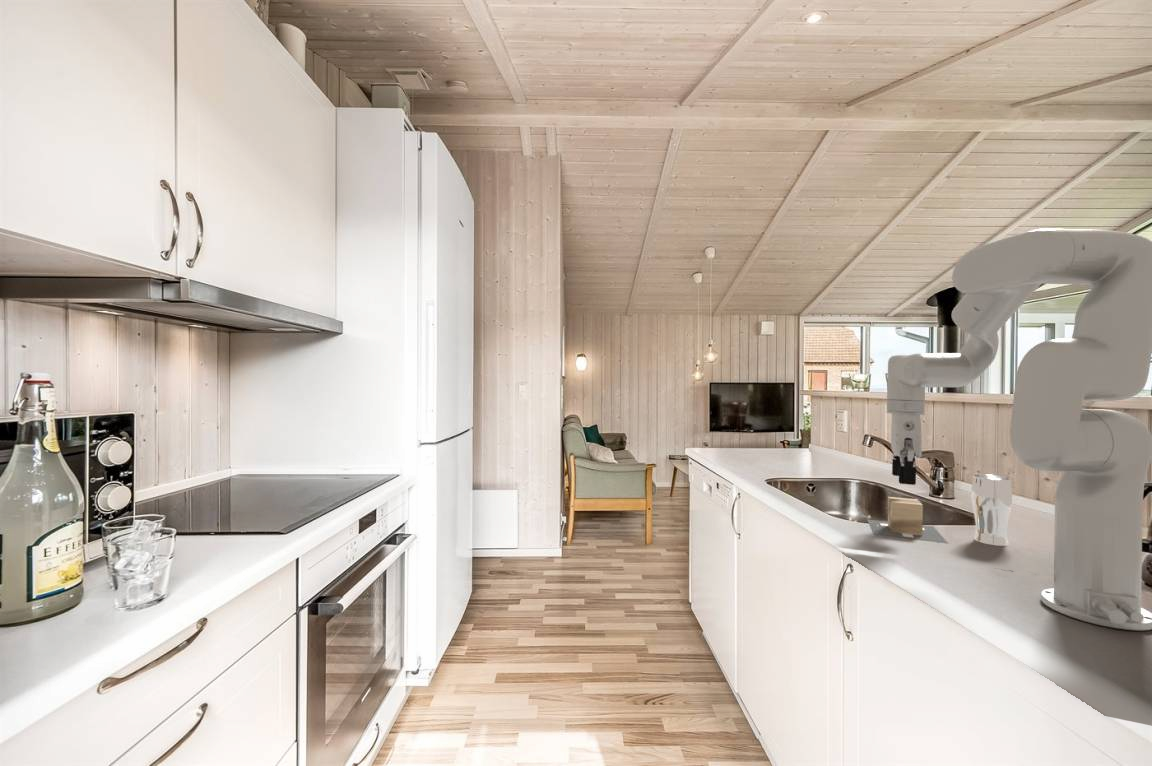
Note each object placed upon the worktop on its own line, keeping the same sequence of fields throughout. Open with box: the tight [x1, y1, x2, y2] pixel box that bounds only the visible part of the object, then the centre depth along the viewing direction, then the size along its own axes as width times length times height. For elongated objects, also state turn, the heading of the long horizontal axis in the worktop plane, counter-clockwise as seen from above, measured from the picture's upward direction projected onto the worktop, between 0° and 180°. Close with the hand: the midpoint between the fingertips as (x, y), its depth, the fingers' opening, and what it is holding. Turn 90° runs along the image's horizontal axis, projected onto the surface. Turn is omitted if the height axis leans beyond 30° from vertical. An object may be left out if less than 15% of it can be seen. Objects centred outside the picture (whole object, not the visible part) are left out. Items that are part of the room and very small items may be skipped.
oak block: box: [887, 496, 924, 536], centre depth 119 cm, size 6×6×7 cm
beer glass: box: [970, 473, 1013, 547], centre depth 112 cm, size 7×7×15 cm
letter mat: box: [867, 519, 949, 544], centre depth 119 cm, size 14×14×1 cm
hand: (903, 479), depth 120 cm, fingers open, 9 cm apart
